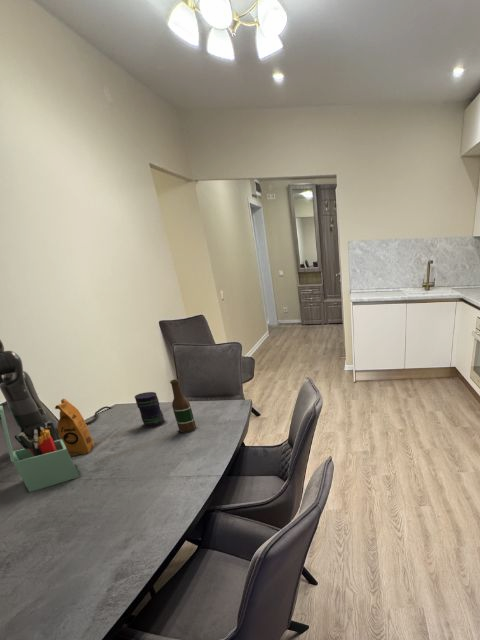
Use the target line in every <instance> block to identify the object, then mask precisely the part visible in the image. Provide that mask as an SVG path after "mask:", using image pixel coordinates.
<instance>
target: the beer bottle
mask: <svg viewBox="0 0 480 640" xmlns="http://www.w3.org/2000/svg"><path fill="white" fill-rule="evenodd" d="M169 383H170V384H171V389H172V394H173V400H172V404H171V407H172V411H173V415H174V417H175V421H176V425H177V427H178V431H180V432H182V433H189V432H193V431H195V430H196V428H197V425H196V420H195V417H194V414H193V410H192V406H191V403H190V402H189V400H188V398H186V397H185V396H184V394H183V391H182V388H181V386H180V381H179V379H171V380H170V381H169Z"/></svg>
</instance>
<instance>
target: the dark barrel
mask: <svg viewBox="0 0 480 640" xmlns="http://www.w3.org/2000/svg"><path fill="white" fill-rule="evenodd" d="M134 400H135V402H136V407H137V408H138V410H139V413H140V417H141V421H142V423H143V426H144V427H145V428H156V427H159V426H162V425H164V424H165V423H166V422H165V417H164V414H163V411H162V409H161V407H160V401H159V397H158V395H157V392H155V391H148V392H147V391H145V392H142V393H137V394H136V395H134Z"/></svg>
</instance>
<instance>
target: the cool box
mask: <svg viewBox="0 0 480 640" xmlns="http://www.w3.org/2000/svg"><path fill="white" fill-rule="evenodd" d="M53 442H54V445H55V447H56V450H57V451H54V452H50V453H46V454H42V455H39V456H35V457H34V455H33V454H32V452H31V451H30V449H25V448H21V449H17V450H12V451H13V457H14V462H12V463H13V465H14V467H15V468H16V470H17V472H18V474H19V476H20V477H21V480H22V481H23V483H24V485H25V487H26V489H27V490H28V492H29V493H30V492H34V491H38V490H40V489H41V490H42V489H44V488H47V487H50V486H54V485H57V484H60V483H64V482H67V481H70V480H74V479H77V478H80V475H79V472H78V471H77V468H76V466H75V464H74V461H73V460H72V456H71V455H69V453H68V451H67V449H66V447H65V444H64V442H63V440H62V439H61V438H60V440H57V441H53Z"/></svg>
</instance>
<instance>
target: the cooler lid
mask: <svg viewBox="0 0 480 640" xmlns="http://www.w3.org/2000/svg"><path fill="white" fill-rule="evenodd" d="M0 420H1V423H2V428H3V432H4V436H5V441H6V445H7V449H8V450H7V451H8V454H9V458H10V462H12V463H13V462H14V457H13V451H14V450H13V447H12V443H11V437H10V433H9V429H8V424H7V420H6V416H5V411H4V407H3V405H0Z"/></svg>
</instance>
